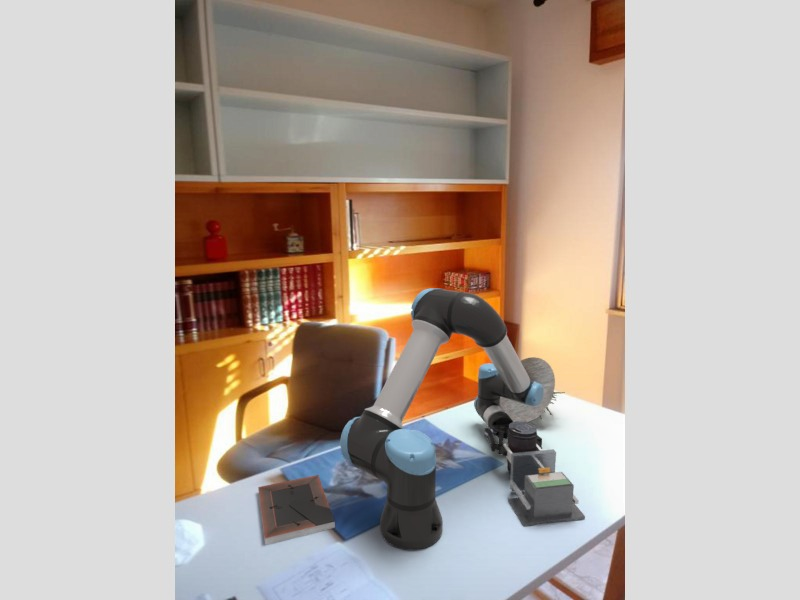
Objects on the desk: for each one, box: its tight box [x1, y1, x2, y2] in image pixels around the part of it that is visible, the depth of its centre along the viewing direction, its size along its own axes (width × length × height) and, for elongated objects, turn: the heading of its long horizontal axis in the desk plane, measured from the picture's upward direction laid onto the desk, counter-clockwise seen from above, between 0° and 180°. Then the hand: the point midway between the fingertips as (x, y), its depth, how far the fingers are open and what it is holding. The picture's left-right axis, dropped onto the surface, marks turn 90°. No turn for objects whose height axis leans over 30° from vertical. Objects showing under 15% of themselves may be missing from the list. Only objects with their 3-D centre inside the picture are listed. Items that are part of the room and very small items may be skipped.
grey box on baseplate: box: [507, 471, 586, 527], centre depth 119 cm, size 16×10×9 cm, turn 99°
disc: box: [500, 356, 566, 423], centre depth 173 cm, size 25×18×25 cm
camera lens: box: [506, 421, 538, 476], centre depth 134 cm, size 8×8×15 cm
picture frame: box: [257, 474, 336, 546], centre depth 121 cm, size 16×2×22 cm
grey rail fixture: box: [509, 449, 580, 509], centre depth 121 cm, size 14×12×10 cm
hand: (528, 458), depth 129 cm, fingers closed on camera lens, 8 cm apart
